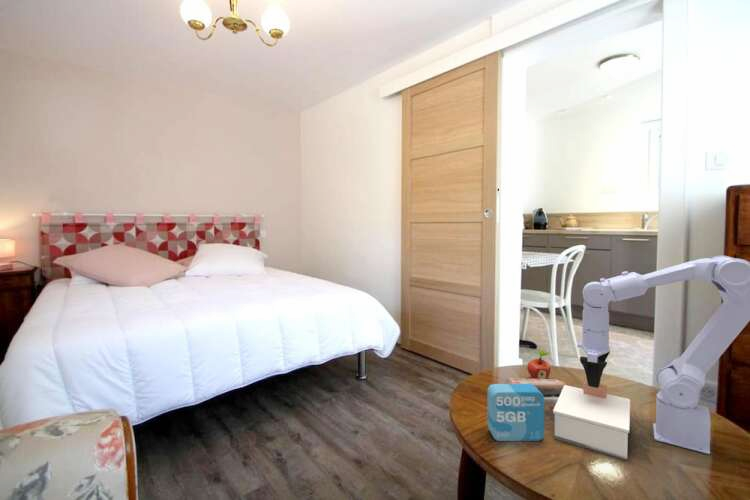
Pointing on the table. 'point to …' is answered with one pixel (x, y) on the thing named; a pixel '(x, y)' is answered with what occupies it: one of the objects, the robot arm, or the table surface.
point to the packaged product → (542, 387)
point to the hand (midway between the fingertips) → (595, 381)
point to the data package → (515, 412)
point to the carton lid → (594, 406)
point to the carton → (591, 436)
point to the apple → (539, 367)
